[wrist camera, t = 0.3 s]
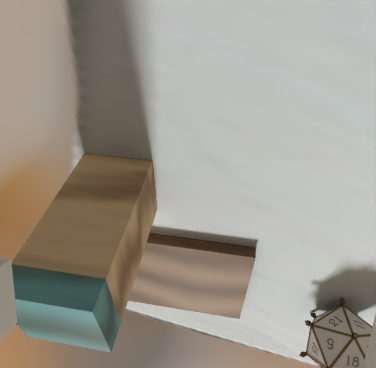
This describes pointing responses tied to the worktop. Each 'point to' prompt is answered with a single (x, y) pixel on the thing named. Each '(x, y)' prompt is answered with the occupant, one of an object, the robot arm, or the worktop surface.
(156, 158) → the worktop surface
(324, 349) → the game die
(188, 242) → the walnut board
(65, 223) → the tan rectangular block
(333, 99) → the worktop surface
